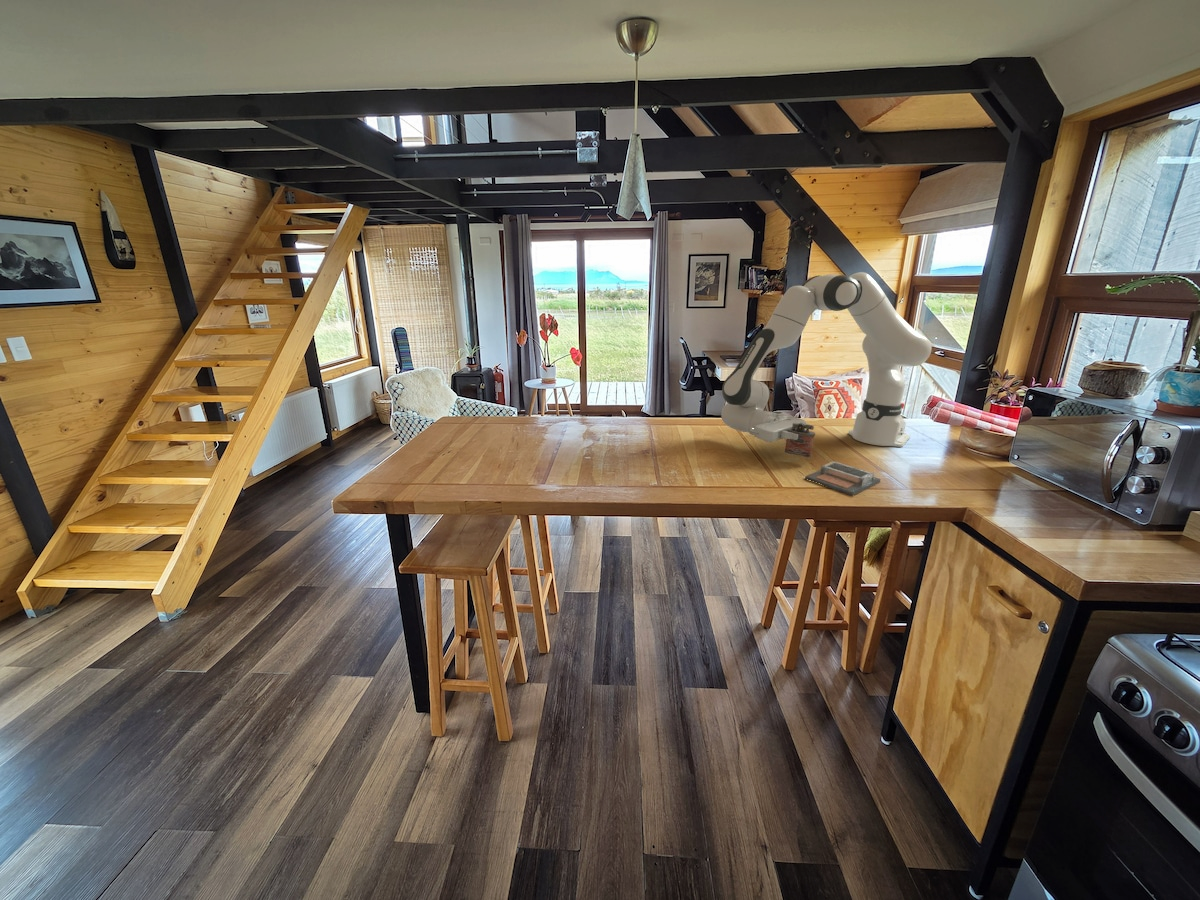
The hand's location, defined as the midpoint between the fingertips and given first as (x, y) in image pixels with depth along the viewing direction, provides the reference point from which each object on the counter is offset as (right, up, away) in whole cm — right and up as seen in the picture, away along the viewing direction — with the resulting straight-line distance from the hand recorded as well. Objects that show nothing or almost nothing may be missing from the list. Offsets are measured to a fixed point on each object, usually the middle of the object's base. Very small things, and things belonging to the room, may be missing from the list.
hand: (803, 435), depth 149 cm
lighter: (-1, -6, +3) cm, 7 cm away
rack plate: (+7, -13, -9) cm, 18 cm away
